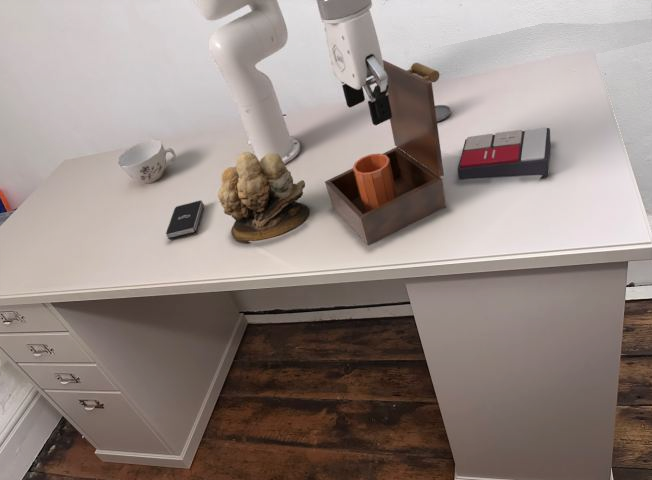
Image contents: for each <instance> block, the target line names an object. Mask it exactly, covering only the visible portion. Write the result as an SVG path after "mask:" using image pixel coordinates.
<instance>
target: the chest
mask: <svg viewBox="0 0 652 480" xmlns="http://www.w3.org/2000/svg"><path fill="white" fill-rule="evenodd" d="M382 154H384V155H386V156H387V157H388V158H389V159H390V164H391V169H392V174H393V179H394V184H395V189H396V193H397V198H395V199H393V200H391V201H389V202H387V203H385V204H383V205H381V206H379V207H377V208H375V209H373V210H371V211H369V212H367V213H365V212H364V210H363V206H362V202H361V198H360V195H359V191H358V187H357V183H356V179H355V175H354V171H353V167H352V168H350V169H348V170H346V171H344V172H342V173H340V174H337V175H336V176H333V177H331V178H329V179H327V180H325V182H324V184H325V187H326V190H327V193H328V198H329V200H330V203H331V206H332V208H333V209H334V211H335V212H336V213H337V214H338V215H339V216H340V217H341V218H342V219H343V220H344V222H346V224H347V225H348V226H349V227H350V228H351V229H352V230H353V231H354V233H356V235H357V236H358V237H359V238H360V239H361V240H362V241H363V242H364V243H365V244H366V245H367V246H371V245H373V244H375V243H377V242H379V241H381V240H383V239H385V238H387V237H388V236H392V234H394V233H397V232H399V231H401V230H403V229H405V228H407V227H410V226H411V225H413V224H415V223H417V222H419V221H421V220H423V219H425V218H428V217H429V216H431V215H433V214H435V213H437V212H439V211H441V210H443V209H445V208H446V207H447V204H446V203H447V202H446V198H445V189H444V181H443V178H442V176H441V177H439V176H438V175H436V174H435V173H434V172H432V171H431V170H429V169H428V168H426V167H425V166H424V165H422V164H421V163H419V162H418V161H416V160H415V159H414V158H412V157H411V156H409V155H408V154H406V153H405V152H404V151H402V150H401V149H399V148H398V147H396V146H395V147H394V148H391V149H389V150H387V151H385V152H383V153H382Z"/></svg>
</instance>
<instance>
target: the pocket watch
mask: <svg viewBox="0 0 652 480" xmlns="http://www.w3.org/2000/svg"><path fill="white" fill-rule="evenodd" d="M435 111H436V119H437V122H440V121H443V120H445V119H447V118H448V117H449V116H450V114H451V112H452V111H451V107H449V106H448V105H446V104H445V105H444V104H438V105H436V104H435Z"/></svg>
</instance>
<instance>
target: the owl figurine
mask: <svg viewBox="0 0 652 480" xmlns="http://www.w3.org/2000/svg"><path fill="white" fill-rule="evenodd" d="M235 164H236V166H230V167H228V168H225V170H224V171H223V172H222V174H221V185H220V188H219V190H218V192H217V197H218V201H219V203H220V204H221V206H222V208H223V213H224V215H228V216H231V218H233V219H234V223H233V226H232V227H231V235H232V238H233V239H234V240H235V241H236V242H237V243H239V244H240V243H241V244H245V245H247V244H248V245H249V244H253V243H252V242H258V241H264V240H269V239H273V238H277V237H279V236H282V235H284V234H288V233H289V232H291V231H293V230H295V229H297V228H298V227H300V226H301V225H302V224H304V223H305V222H306V220H307V219H308V217H309V216H310V209H309V207H308V206H307V205H306V204H304V203H302V202H299V201H298V200H300V199H301V198H302V197H303V195H304V189H305V187H306V182H305V180H303V179H301V180H300V181H297V183H294V178H293V176H292V173H291V171H290V170H289V169H288V168H287V166H286V164H284V162H283V161H282V158H281V157H280V156H279V154H277V153H268V154H266V155H265V156H264V157H263V158H262V159H261V160H260V162H259V160H258V158H257V157H256V156H255V154H253V153H252V152H250V151H245V152H244V151H243V152H242V153H241V154H240V155H239V156H238V157H237V158H236V162H235Z"/></svg>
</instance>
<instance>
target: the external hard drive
mask: <svg viewBox="0 0 652 480" xmlns="http://www.w3.org/2000/svg"><path fill="white" fill-rule="evenodd" d="M204 208H205V204H204V202H203V201H202V200H201V199H199V200H196V201H191V202H188V203H184V204H180V205H176V206H175V207H174V208H173V210H172V211H173V212H172V214H171V217H170V220H169V223H168V225H167V229H166V231H165V235H166V237H167V239H168V240H170V241H172V240H176V239H181V238H185V237H190V236H194V235H197V233H198V230H199V227H200V223H201V220H202V216H203V212H204Z"/></svg>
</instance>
